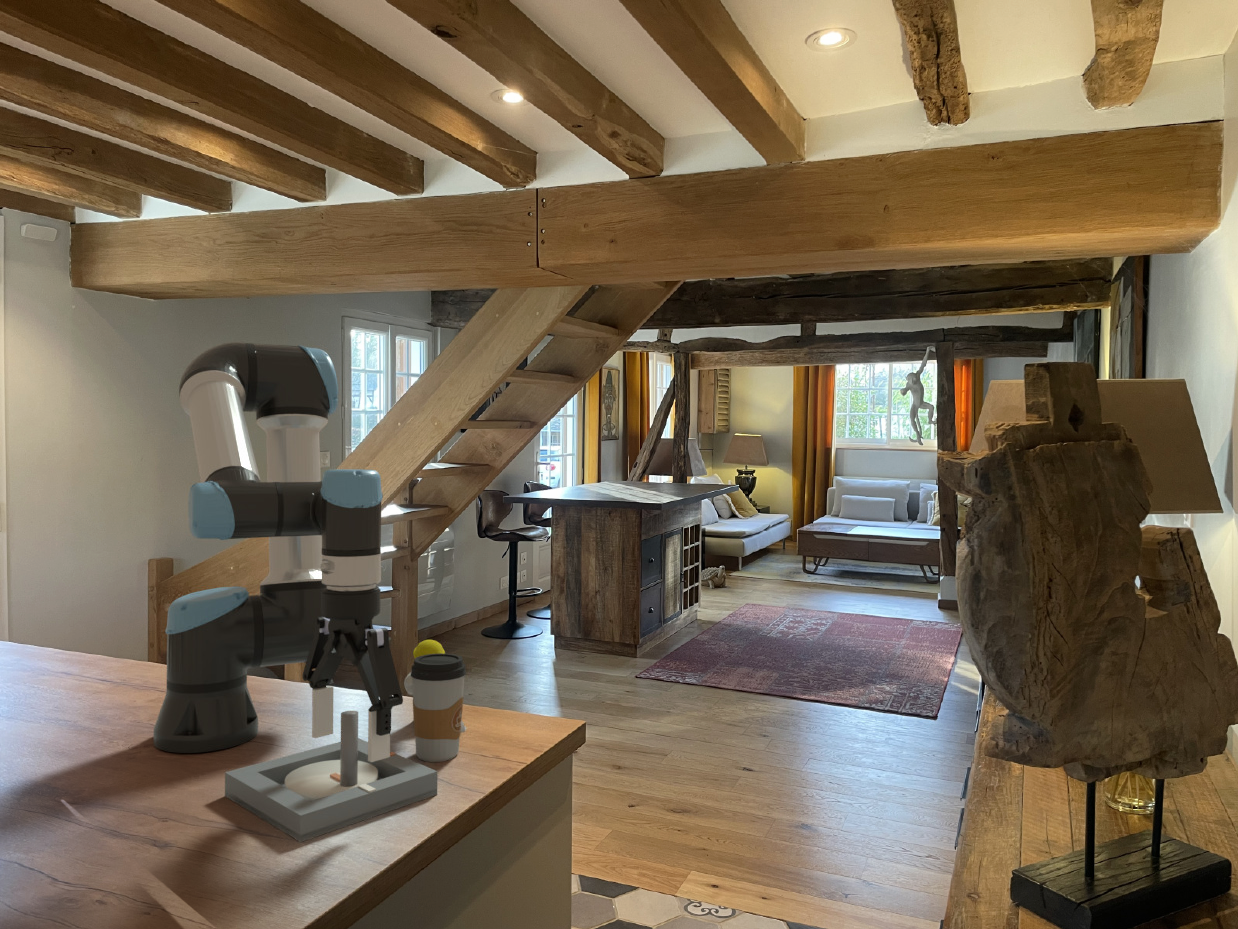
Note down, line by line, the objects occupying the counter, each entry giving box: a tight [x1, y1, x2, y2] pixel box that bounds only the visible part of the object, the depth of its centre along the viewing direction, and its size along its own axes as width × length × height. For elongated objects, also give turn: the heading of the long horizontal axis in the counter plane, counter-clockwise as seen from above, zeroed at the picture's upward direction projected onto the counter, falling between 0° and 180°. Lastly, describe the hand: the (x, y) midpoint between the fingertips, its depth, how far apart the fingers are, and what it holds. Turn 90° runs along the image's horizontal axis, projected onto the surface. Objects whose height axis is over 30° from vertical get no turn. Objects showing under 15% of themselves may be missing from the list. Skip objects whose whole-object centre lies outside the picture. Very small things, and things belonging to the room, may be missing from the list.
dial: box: [285, 710, 378, 801], centre depth 119 cm, size 12×12×11 cm
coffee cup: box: [410, 653, 467, 763], centre depth 135 cm, size 8×8×15 cm
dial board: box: [224, 737, 438, 843], centre depth 119 cm, size 20×20×3 cm
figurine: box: [403, 639, 468, 733], centre depth 147 cm, size 10×9×15 cm
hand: (349, 747), depth 116 cm, fingers open, 13 cm apart
